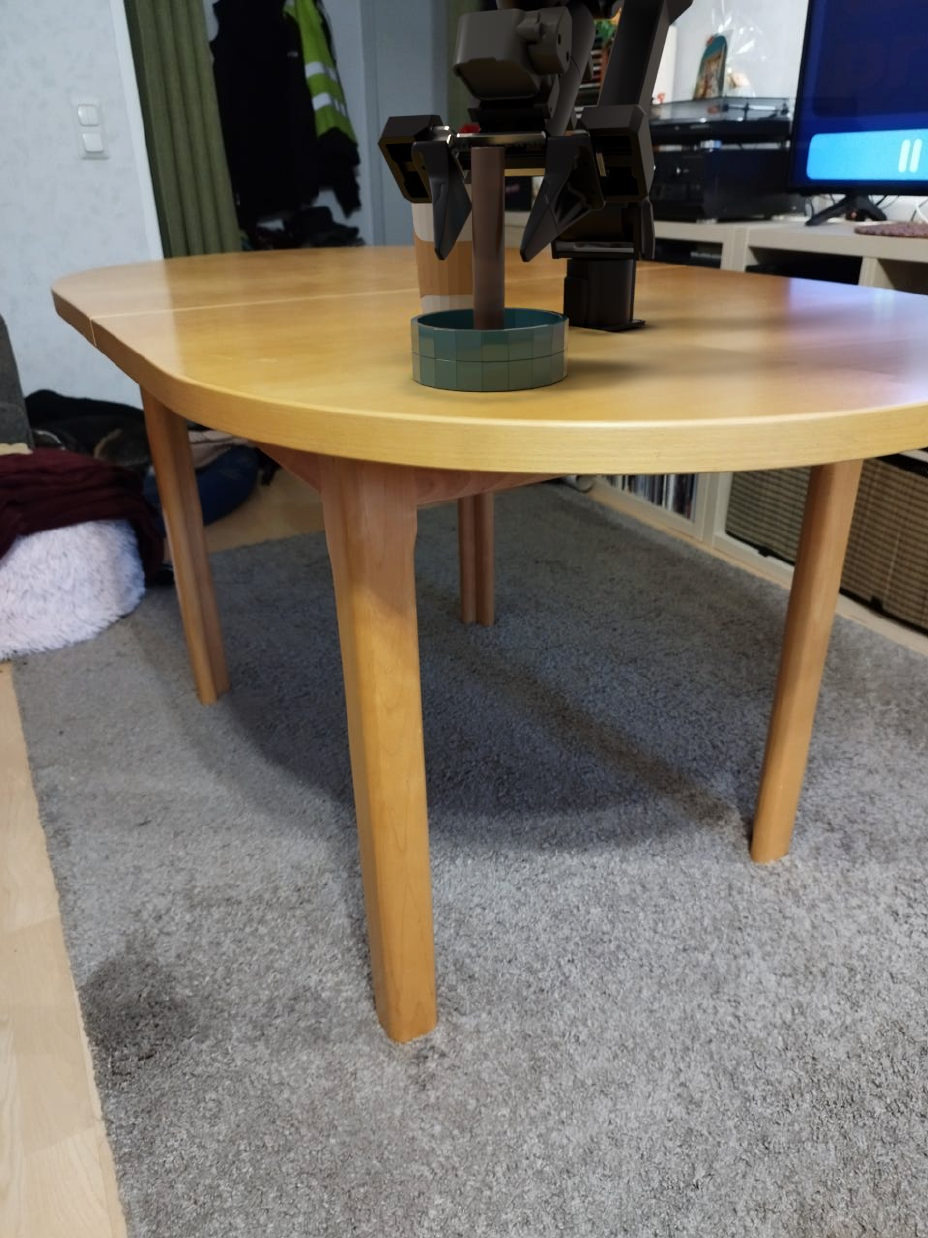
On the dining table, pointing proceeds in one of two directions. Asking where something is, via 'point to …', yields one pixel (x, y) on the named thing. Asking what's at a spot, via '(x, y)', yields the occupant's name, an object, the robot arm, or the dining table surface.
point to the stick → (488, 237)
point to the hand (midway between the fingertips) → (480, 256)
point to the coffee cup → (443, 262)
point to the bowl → (489, 350)
